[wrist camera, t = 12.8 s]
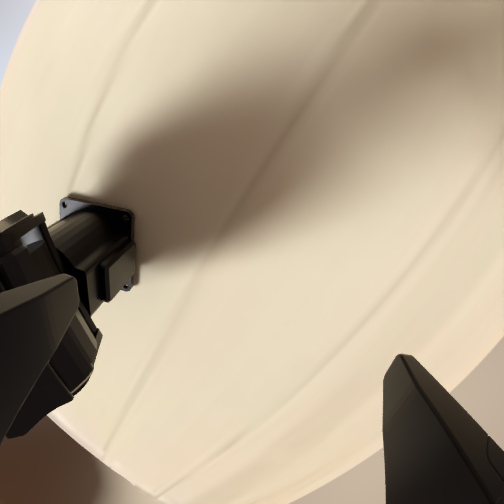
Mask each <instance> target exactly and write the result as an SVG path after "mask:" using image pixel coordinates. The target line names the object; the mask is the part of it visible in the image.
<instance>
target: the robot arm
mask: <svg viewBox="0 0 504 504" xmlns="http://www.w3.org/2000/svg"><path fill="white" fill-rule="evenodd" d="M65 202H66V204H67V206H66V205H65ZM125 215H127V216H128V218H129V219H128V220H127V219H126V218H125ZM45 221H46V219H45V217H44V214H43V212H42V213H39V214H37V215H35V216H34V215H33V213H32V214H30V215H27V214H25V213H24V212H23V211H21V210H20V211H18V212H16V213H14V214H12V215H10V216H8V217H7V218H5V219H3V220H1V221H0V445H1V443H2V441H3V439H4V437H6V438H15V437H18V436H23V435H25V434H26V433H27V432H28V431H29V430H30V429H31V428H32V427H33V426H35V424H37V423H38V422H39V421H40V420H41V419H42V418H43V417H44V416H46V415H47V414H48V413H50V412H51V411H53V410H54V409H56V408H57V407H59V406H62V405H64V404H66V403H68V402H70V401H72V400H73V398H74V397H73V396H74V395H76V394H77V393H78V392H79V391H81V389H82V388H83V387H84V386H85V385H86V383H87V382H88V380H89V378H90V376H91V374H92V372H93V369H94V362H95V359H96V356H97V352H98V349H99V346H100V343H101V339H102V336H103V335H102V333H101V332H100V330H99V329H98V328H96V326H95V324H94V322H93V321H92V319H91V316H92V315H93V313H94V312H95V311H96V310H97V309H98V308H99V306H100V305H101V304H102V303H103V302H107V303H108V302H110V301H111V300H112V299H113V298H114V297H115V296H116V294H117V293H118V292H119V291H120V290H123V291H130V289H131V288H132V287H133V275H134V274H135V253H136V243H135V241H134V240H133V239H134V214H133V212H132V211H130V210H128V209H123V208H118V207H113V206H109V205H104V204H99V203H94V202H89V201H84V200H79V199H74V198H69V197H65V198H63V199H61V201H60V220H59V221H57V222H55V223H54V224H52V225H50V226H49V227H47V226H46V223H45ZM125 284H127V285H128V286H126V285H125ZM383 444H384V459H385V484H386V504H504V451H503V450H502V449H501V448H500V447H499V446H498V445H497V444H496V443H495V442H494V440H493V439H492V438H491V437H490V436H488V434H487V433H486V432H485V431H484V430H483V429H482V427H481V426H480V425H479V424H478V423H477V422H476V421H475V420H474V419H473V418H472V417H471V416H470V415H469V414H468V413H467V411H466V410H465V409H464V408H463V407H462V406H461V405H460V404H459V403H458V402H457V401H456V400H455V399H454V398H453V397H452V396H451V395H450V394H449V393H448V392H447V391H446V389H445V388H444V387H443V386H442V385H441V384H440V383H439V382H438V381H437V380H436V379H435V378H434V377H433V376H432V375H431V374H430V373H429V372H428V371H427V370H426V369H425V368H424V367H423V366H422V365H421V364H420V363H419V362H418V361H417V360H416V359H415V358H414V357H413V356H412V355H407V354H398V355H397V356H396V357H395V359H394V361H393V362H392V364H391V366H390V367H389V369H388V371H387V372H386V374H385V376H384V380H383Z"/></svg>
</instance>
